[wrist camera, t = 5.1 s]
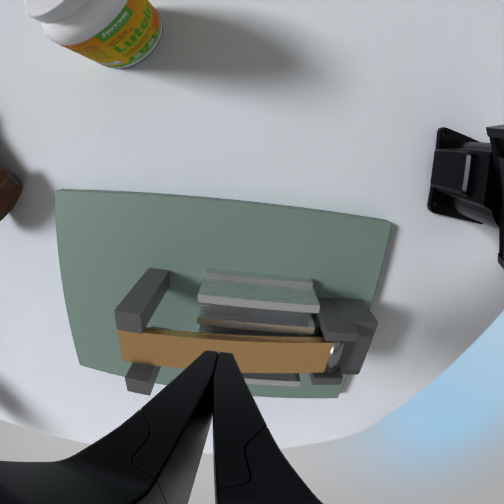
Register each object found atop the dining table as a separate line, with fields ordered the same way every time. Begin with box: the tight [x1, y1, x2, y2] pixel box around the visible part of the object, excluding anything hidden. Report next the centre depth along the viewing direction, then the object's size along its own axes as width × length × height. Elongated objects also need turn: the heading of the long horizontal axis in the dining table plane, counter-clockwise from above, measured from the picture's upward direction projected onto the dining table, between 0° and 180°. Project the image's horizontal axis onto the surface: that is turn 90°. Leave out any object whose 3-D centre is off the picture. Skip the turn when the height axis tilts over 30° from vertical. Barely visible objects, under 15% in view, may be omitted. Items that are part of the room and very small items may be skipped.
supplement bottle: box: [24, 0, 162, 69], centre depth 11 cm, size 5×5×10 cm
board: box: [55, 189, 391, 398], centre depth 21 cm, size 24×16×1 cm, turn 84°
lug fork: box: [114, 268, 171, 396], centre depth 18 cm, size 2×6×6 cm, turn 174°
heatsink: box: [197, 268, 320, 387], centre depth 19 cm, size 7×7×3 cm
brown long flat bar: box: [118, 327, 346, 376], centre depth 17 cm, size 14×3×1 cm, turn 84°
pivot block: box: [309, 297, 378, 385], centre depth 19 cm, size 4×4×4 cm
